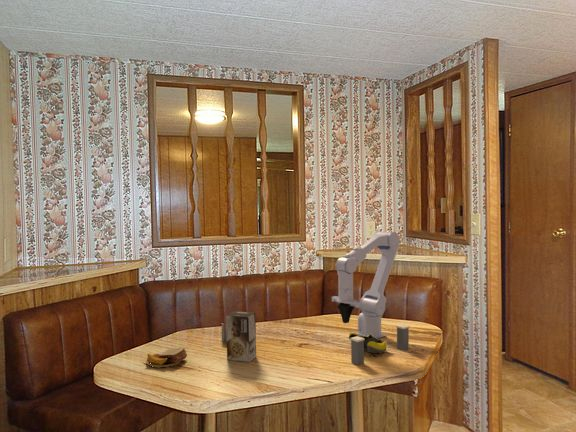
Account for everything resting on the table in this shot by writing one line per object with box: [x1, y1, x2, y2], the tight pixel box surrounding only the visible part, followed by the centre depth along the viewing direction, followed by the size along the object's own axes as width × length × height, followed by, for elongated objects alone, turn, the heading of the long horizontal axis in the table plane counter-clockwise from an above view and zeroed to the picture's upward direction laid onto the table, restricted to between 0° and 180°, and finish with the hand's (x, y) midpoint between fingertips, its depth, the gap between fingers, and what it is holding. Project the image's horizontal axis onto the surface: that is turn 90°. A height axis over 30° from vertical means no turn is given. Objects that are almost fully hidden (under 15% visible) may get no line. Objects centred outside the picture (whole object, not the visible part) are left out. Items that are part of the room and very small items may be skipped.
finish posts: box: [349, 323, 410, 366], centre depth 156 cm, size 3×27×9 cm, turn 126°
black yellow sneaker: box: [348, 332, 388, 354], centre depth 162 cm, size 15×6×10 cm
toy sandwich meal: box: [145, 346, 188, 368], centre depth 152 cm, size 12×14×5 cm
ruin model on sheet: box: [221, 322, 227, 343], centre depth 177 cm, size 11×3×10 cm, turn 115°
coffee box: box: [225, 310, 257, 363], centre depth 155 cm, size 9×6×16 cm
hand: (345, 322), depth 170 cm, fingers closed
